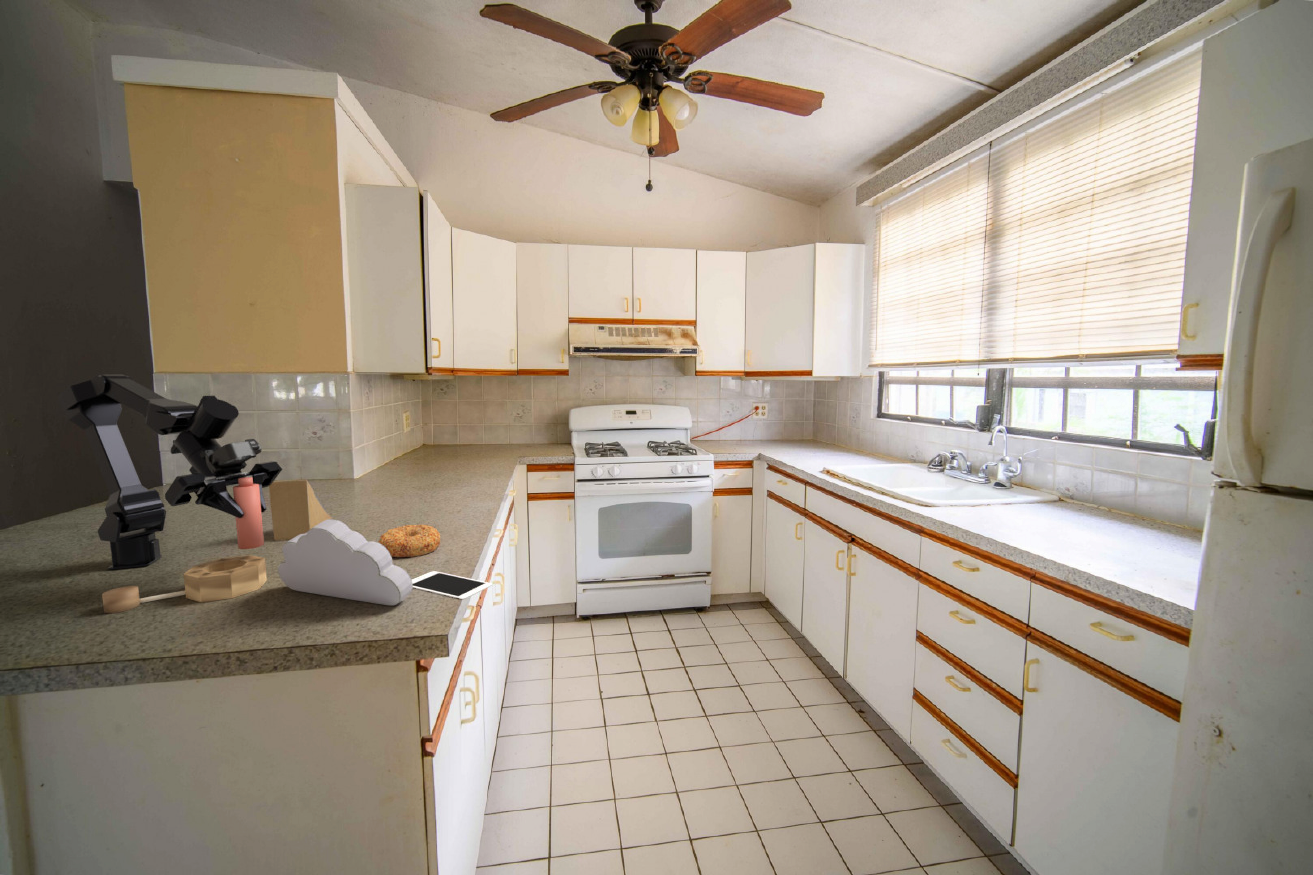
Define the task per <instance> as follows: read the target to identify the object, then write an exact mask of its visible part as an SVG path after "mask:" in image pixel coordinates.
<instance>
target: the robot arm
mask: <svg viewBox="0 0 1313 875" xmlns="http://www.w3.org/2000/svg"><path fill="white" fill-rule="evenodd" d="M57 401H58V406H60V409H62V411H63V412H64V415H65V416H66V418H67V419H68V420H69V421H70V422H71V423H73V424H74V425H76V426H77V427H79V428H80V429H82V430H83V431H84V433H85V434H86V437H87V439H88V442H89V445H90V447H91V450H92V452H93V455H94V457H95V459H96V462H97V465H98V467H99V469H100V472H101V474H102V476H103V480H104V482H105V483H106V487H107V489H108V491H109V497H108V500H107V503H106V504H105V507H104V512H105V516H106V517H105V519H104V520H103V522H102V523H101V525H100V526H99V528H98V530H97V535H98V537H99V539H100V541H101V542H109V547H110V556H111V562H112V563H111V564H112V565H110V566H109V567H107V568H108V569H107V570H108V571H111V570H120V569H121V570H122V569H128V568H129V569H130V568H140V567H148V566H150V565H152V564H153V563H154V562H156V561H158V560H159V559H161V558H162V557H163V555H162V554H161V547H160V539H159V538H157V537H156V533H158V532H163V531H164V527H165V521H166V516H167V511H166V508H165V505H164V503H163V502H162V500H161V497H160V493H159V492H158V490H156V489H148V488H146V487H145V486H143V484H142V482H141V480H140V477H139V475H138V473H137V470H136V468H135V465H134V462H133V461H132V458H131V455H130V453H129V449H128V448H127V445H126V443H125V440H124V438H123V436H122V434H121V431H120V428H119V426H118V421H119V418H120V416H121V413H122V412H123V408H122V405H124V406H125V407H127V408H129V409H131V410H132V411H134V412H136V413H138V414H140V415H141V416H143V417H144V418H145V425H147V426H148V427H149V428H150V429H151V430H152V431H153V432H155V433H156V434H158V435H160V436H167V435H168V436H169V435H171V436H172V435H177V437H176V438H175V439H173V440H172V446H171V447H170V454H171V455H176V454H182V455H183V457H184V458H185V459H186V461H187V462H188V463H189V464H190V468H189V470H188V471H189V472H190V474H184V475H183V474H182V475H177V476H176V477H175V478H174V480H173V482H172V483H171V484H170V486H169V487H168V488H167V490H166V491H165V493H164V499H165V500H166V502H167V503H168V504H169V505H170V506H172V507H177V506H178V507H179V506H181V505H183V506H184V505H187V504H189V503H190V502H191V500H192V495H191V493H195V496H196V497H197V498H196V500H194V503H195V505H203V506H205V507H209V508H212V509H215V510H218V511H221V512H223V513H226V514H228V515H231V516H233V517H235V518H236V517H238V518H242V517H243V516H244V513H243V511H242V510H241V508H240V507H239V505H238V504H237V503H236V502H235V500H234V497H232V495H231V494H230V493H229V491H228V487H234V486H237V485H239V483H238V479H239V478H244V477H252V478H253V484H259V491H260V503H261V513H265V512H266V510H267V505H266V502H265V501H266V500H265V498H264V492H263V489H265V488H269V486H270V485H271V484H272V483H273V481H276V479H277V478H278V476H279V474H280V473H281V472H282V471H283V468H282V466H280V464H279V463H278V462H277V461H272V460H271V461H266V462H265V461H264V462H259V463H255V464H254V466H253V467H252V468H251V470H250V471H244V472H243V471H242V470H244V469H246V467H247V465H248V464H247V463H246V462H247V461H249V460H250V459H252V458H253V459H255V458H257V455H259V454H260V453H262V450H263V449H262V447H261V445H260V443H259V442H258V441H257V440H256V439H255V438H249V439H245V440H244V441H239V442H230V443H227V444H225V445H222V446H221V444H220V443H219V442H218V441H217V440H219V439H222V438H224V436H226V434H227V433H228V431H229V430H230V428H231V427H232V425H233V424H234V422H235V421H236V420H237V418H238V417H239V415H240V413H239V409H238V408H237V406H235V405H232V404H231V403H229V402H227V401H225V400H224V399H223V400H222V399H219V398H217V397H216V395H203V396H202V397H201V399H200V400H199V403H198V405H196V404H193V403H190V402H186V401H182V400H176V399H175V400H173V399H168V398H166V397H164V396H162V395H161V394H159V393H157V392H155V391H153V390H151V389H150V388H148V387H145V386H144V385H141V383H138V382H136V381H135V380H133V378H132V377H131V376H129V375H125V374H100V375H97V376H93V377H92V378H91V379H89V380H86V381H83V382H79V383H76V384H73V385H70V386H68V387H66V388H65V389H63V391H61V392H59V394H58V398H57Z"/></svg>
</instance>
